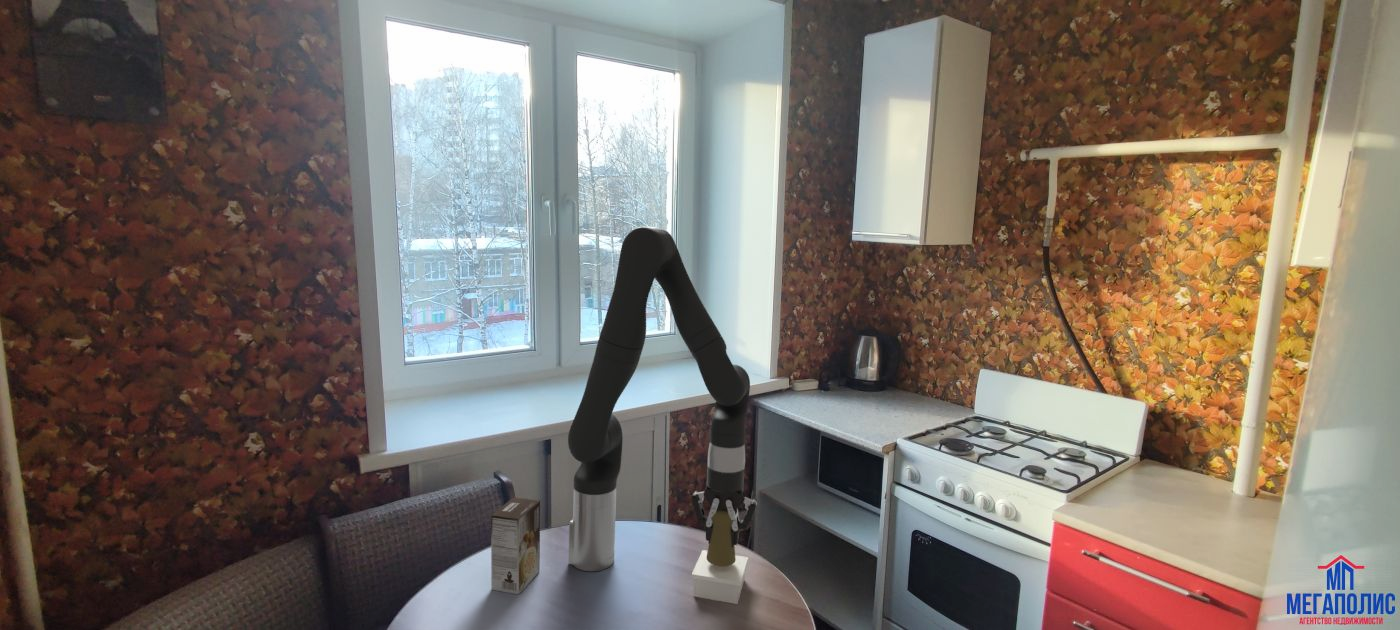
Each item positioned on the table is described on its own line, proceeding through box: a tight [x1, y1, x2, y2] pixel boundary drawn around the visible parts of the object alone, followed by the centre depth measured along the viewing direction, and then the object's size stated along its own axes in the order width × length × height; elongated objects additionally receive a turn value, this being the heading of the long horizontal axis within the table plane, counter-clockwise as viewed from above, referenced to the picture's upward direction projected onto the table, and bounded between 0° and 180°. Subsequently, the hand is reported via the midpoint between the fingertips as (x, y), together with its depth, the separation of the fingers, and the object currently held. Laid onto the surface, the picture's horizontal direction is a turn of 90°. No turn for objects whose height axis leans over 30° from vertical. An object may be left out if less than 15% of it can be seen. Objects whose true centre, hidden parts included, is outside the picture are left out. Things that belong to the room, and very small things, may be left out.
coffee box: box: [490, 497, 541, 595], centre depth 125 cm, size 9×6×16 cm
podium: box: [691, 549, 749, 605], centre depth 127 cm, size 10×10×5 cm
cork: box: [707, 510, 736, 566], centre depth 126 cm, size 6×6×11 cm
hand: (721, 543), depth 126 cm, fingers closed on cork, 4 cm apart
